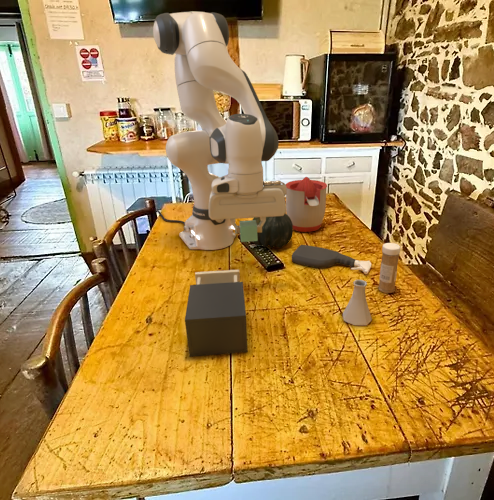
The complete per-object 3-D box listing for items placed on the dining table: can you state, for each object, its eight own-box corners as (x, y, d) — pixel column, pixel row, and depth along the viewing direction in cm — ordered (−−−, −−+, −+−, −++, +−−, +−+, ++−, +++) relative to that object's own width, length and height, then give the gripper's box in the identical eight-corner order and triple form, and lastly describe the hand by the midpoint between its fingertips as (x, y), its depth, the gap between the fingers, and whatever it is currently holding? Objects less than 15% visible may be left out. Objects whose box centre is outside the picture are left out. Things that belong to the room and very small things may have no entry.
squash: (246, 222, 145) (250, 200, 131) (285, 220, 148) (294, 199, 134) (250, 257, 139) (256, 238, 126) (291, 254, 142) (301, 236, 129)
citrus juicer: (293, 238, 144) (293, 185, 136) (280, 222, 160) (280, 173, 151) (333, 234, 148) (336, 181, 139) (317, 218, 163) (319, 170, 155)
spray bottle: (301, 250, 134) (373, 264, 125) (288, 263, 125) (366, 279, 116) (301, 242, 133) (374, 256, 124) (289, 255, 124) (367, 270, 115)
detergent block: (240, 236, 109) (239, 220, 107) (256, 235, 109) (255, 219, 107) (241, 242, 105) (240, 226, 103) (257, 241, 105) (257, 225, 103)
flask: (369, 329, 94) (373, 292, 89) (339, 323, 96) (342, 287, 92) (373, 313, 100) (377, 278, 96) (345, 307, 102) (347, 273, 98)
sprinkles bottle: (398, 290, 109) (404, 246, 104) (386, 295, 107) (392, 250, 102) (385, 283, 113) (390, 240, 107) (374, 288, 111) (379, 244, 105)
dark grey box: (193, 318, 99) (190, 284, 95) (244, 314, 100) (242, 281, 96) (189, 356, 85) (184, 319, 81) (247, 352, 87) (245, 315, 83)
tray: (198, 289, 110) (196, 264, 106) (239, 287, 111) (238, 262, 108) (194, 327, 94) (191, 299, 90) (242, 324, 95) (241, 296, 91)
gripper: (284, 177, 104) (284, 226, 110) (206, 180, 102) (210, 230, 108) (288, 183, 99) (288, 234, 104) (205, 187, 97) (210, 239, 102)
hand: (248, 232), depth 106 cm, fingers closed on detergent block, 4 cm apart
